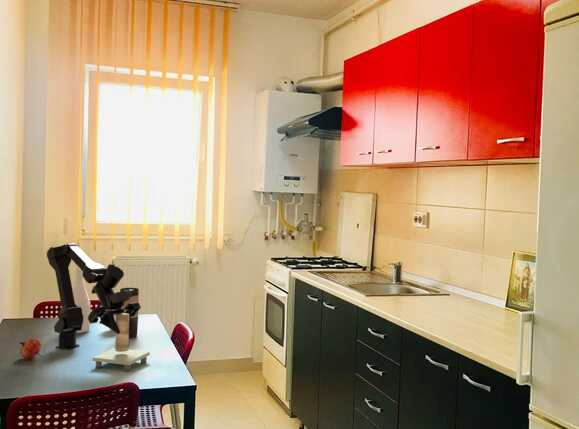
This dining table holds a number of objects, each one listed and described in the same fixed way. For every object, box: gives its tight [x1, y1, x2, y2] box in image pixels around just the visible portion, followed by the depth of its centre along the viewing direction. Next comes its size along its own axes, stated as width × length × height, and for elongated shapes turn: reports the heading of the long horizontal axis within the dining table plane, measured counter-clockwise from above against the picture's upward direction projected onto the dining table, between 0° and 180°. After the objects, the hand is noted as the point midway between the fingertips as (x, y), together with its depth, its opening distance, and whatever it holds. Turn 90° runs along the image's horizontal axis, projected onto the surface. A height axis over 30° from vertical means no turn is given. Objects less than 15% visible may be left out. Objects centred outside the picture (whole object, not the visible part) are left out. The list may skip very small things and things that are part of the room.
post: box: [114, 313, 130, 352], centre depth 210 cm, size 4×4×12 cm
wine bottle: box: [72, 262, 91, 335], centre depth 257 cm, size 10×10×30 cm
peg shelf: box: [92, 347, 151, 373], centre depth 210 cm, size 14×14×4 cm
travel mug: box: [119, 287, 140, 340], centre depth 251 cm, size 8×8×20 cm
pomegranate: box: [19, 338, 44, 361], centre depth 214 cm, size 7×7×10 cm
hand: (124, 332), depth 209 cm, fingers closed on post, 4 cm apart
